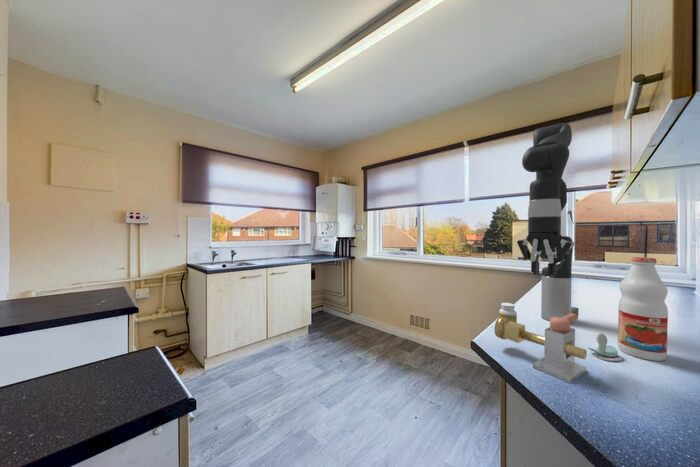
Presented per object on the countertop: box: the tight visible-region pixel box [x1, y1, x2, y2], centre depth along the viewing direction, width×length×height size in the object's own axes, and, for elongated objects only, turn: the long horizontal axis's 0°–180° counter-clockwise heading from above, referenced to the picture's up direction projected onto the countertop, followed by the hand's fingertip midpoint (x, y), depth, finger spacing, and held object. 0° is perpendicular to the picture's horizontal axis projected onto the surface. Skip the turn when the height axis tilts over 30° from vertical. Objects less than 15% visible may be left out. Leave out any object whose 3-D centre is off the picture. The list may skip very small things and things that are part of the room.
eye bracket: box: [532, 326, 588, 384], centre depth 66 cm, size 10×8×10 cm
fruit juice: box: [617, 256, 669, 362], centre depth 74 cm, size 9×9×28 cm
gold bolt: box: [494, 316, 588, 360], centre depth 71 cm, size 6×20×6 cm, turn 31°
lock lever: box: [549, 306, 580, 332], centre depth 68 cm, size 12×4×4 cm, turn 121°
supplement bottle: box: [498, 302, 518, 323], centre depth 91 cm, size 5×5×10 cm
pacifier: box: [587, 333, 623, 362], centre depth 72 cm, size 7×6×6 cm
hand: (543, 275), depth 74 cm, fingers open, 3 cm apart
